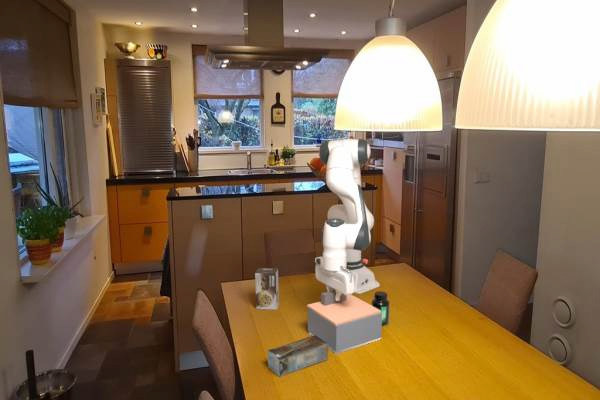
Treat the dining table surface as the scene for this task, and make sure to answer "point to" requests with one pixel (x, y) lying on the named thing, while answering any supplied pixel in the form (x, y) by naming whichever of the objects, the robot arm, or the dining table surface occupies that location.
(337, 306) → the cover
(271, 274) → the coffee box
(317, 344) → the beverage carton
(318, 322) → the storage box
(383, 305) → the supplement bottle
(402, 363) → the dining table surface
